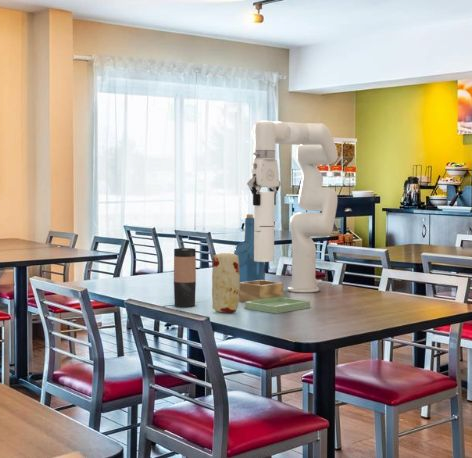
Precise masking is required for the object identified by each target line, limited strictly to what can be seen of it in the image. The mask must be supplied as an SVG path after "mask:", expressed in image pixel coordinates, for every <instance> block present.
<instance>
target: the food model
mask: <svg viewBox="0 0 472 458" xmlns="http://www.w3.org/2000/svg"><path fill="white" fill-rule="evenodd" d="M211 272H212V273H211V274H212V275H211V299H212V305H211V306H212V309H213V310H214V311H215V312H218V313H219V312H220V313H228V314H232V313H236V312H237V310H238V308H239V307H238V306H239V303H240V302H239V290H240V275H239V258H238V256H237V255H235V254H234V253H229V252H227V253H226V252H222V253H221V252H220V253H216V254H214V255H213V256H212V271H211Z"/></svg>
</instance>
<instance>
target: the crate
mask: <svg viewBox="0 0 472 458" xmlns="http://www.w3.org/2000/svg"><path fill="white" fill-rule="evenodd" d="M274 297H284V282H282V281H281V282H280V281H273V280H266V279H265V280H256V281H247V282H240V290H239V302H238V303H244V304H245V302H248V301H254V300H261V299H268V298H274Z"/></svg>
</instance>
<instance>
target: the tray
mask: <svg viewBox="0 0 472 458" xmlns="http://www.w3.org/2000/svg"><path fill="white" fill-rule="evenodd" d="M310 308H311V301H310V300H304V299H297V298H291V297H284V296H283V297H274V298H268V299H261V300H254V301H248V302H245V303H244V309H247V310H251V311H258V312H264V313H269V314H270V313H271V314H281V313H288V312H293V311H299V310H305V309H310Z"/></svg>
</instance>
